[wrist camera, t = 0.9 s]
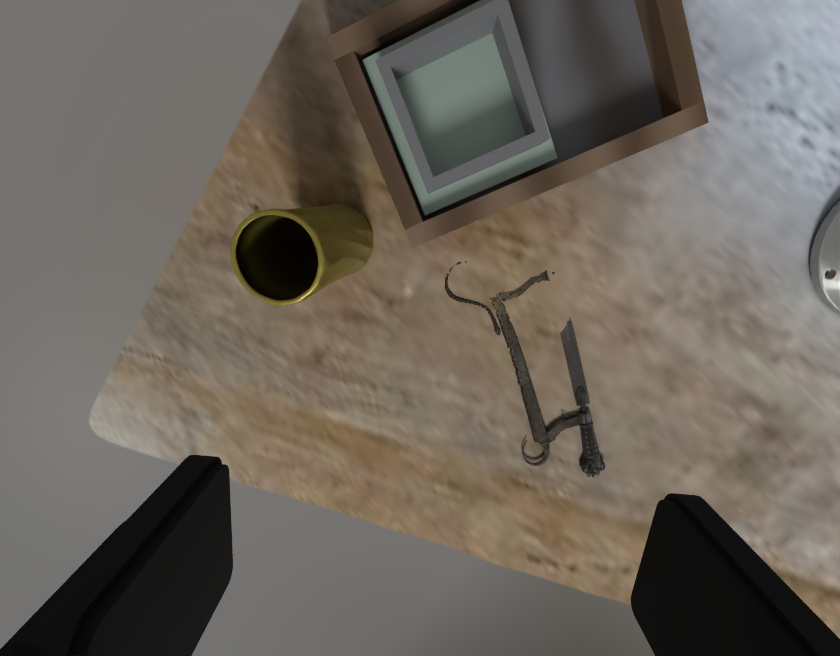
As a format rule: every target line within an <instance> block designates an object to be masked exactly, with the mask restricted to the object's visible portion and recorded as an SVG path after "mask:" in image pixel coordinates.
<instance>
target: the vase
mask: <svg viewBox="0 0 840 656" xmlns="http://www.w3.org/2000/svg"><path fill="white" fill-rule="evenodd" d="M372 249H373V236H372V231H371V228H370V225H369V223H368V222H367V220H366V219H365V217H364V216H363V215H362V214H361V213H360V212H359V211H358V210H356V209H355V208H353V207H351V206H348V205H345V204H340V203H333V204H327V205H324V206H315V207H307V208H297V209H287V210H284V209H269V210H262V211H258V212H255V213H253V214H251V215H250V216H249V217H247V218H246V219H245V220H244V221H243V222H242V223H241V224H240V225H239V226H238V228H237V230H236V232H235V234H234V236H233V239H232V242H231V249H230V253H231V261H232V265H233V267H234V270H235V273H236V275H237V277H238V279H239V281H240V282H241V284H242V285H243V286H244V287H245V289H246V290H247V291H248V292H249V293H250V294H251V295H253V296H254V297H256V298H258V299H260V300H262V301H265V302H267V303H270V304H273V305H290V304H295V303H298V302H300V301H303V300H305V299H306V298H308V297H309V296H311V295H312V294H314V293H316V292H317V291H319V290H321V289H322V288H324V287H325V286H327V285H329V284H331V283H333V282H335V281H337V280H338V279H340V278H342V277H345V276H347V275H349V274H350V273H354V272H356V271H357V270H359V269H360V268H361V267H363V266H364V265H365V264H366V262H367V261H368V259H369V257H370V255H371V252H372Z"/></svg>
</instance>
